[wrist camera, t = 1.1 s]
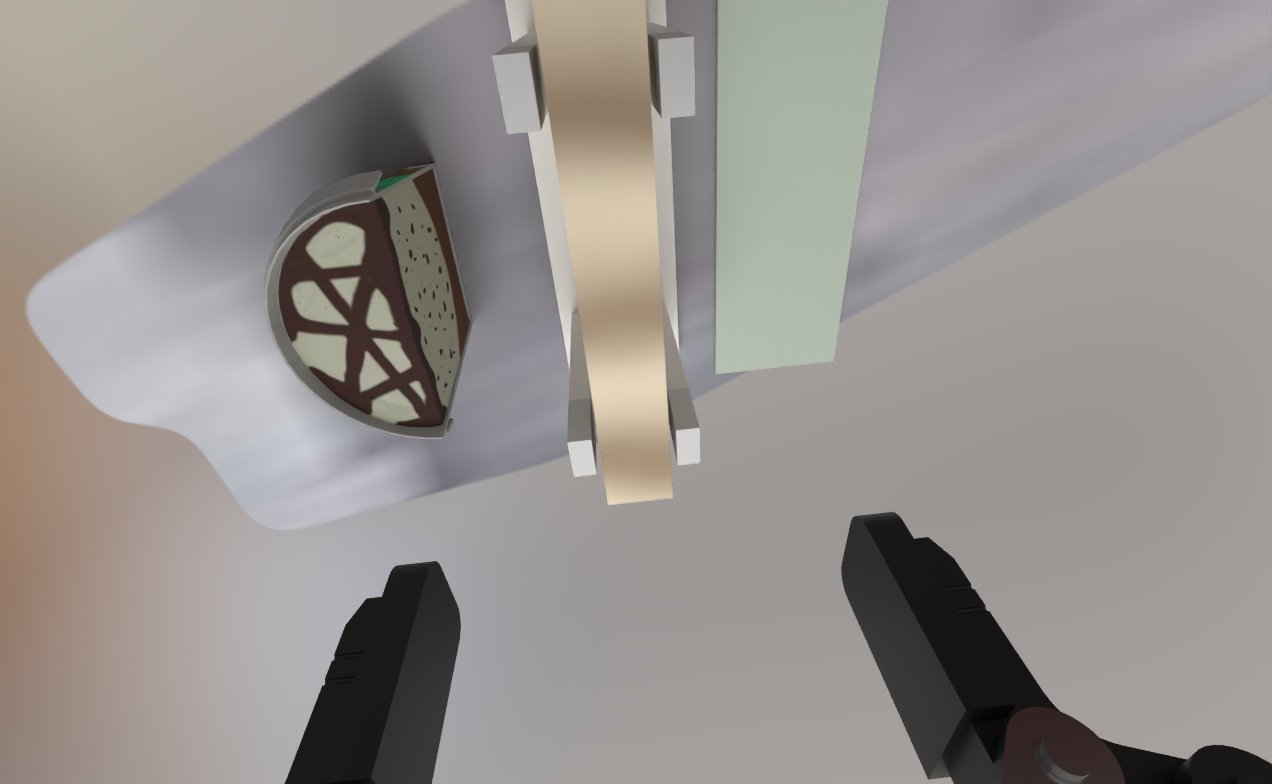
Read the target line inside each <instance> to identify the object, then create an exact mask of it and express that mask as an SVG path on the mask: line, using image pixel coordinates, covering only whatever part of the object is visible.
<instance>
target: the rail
mask: <svg viewBox="0 0 1272 784" xmlns="http://www.w3.org/2000/svg"><path fill="white" fill-rule="evenodd" d="M531 1H532V7H533V14H534V20H535V27H536V34H537V40H538V47H539V53H540V60H541V66H542V73H543V80H544V86H545V93H546V99H547V106H548V112H549V119H550V126H551V132H552V139H553V145H554V152H555V158H556V165H557V172H558V178H559V185H560V191H561V198H562V204H563V211H564V218H565V224H566V231H567V237H568V244H569V250H570V257H571V264H572V270H573V277H574V283H575V290H576V296H577V303H578V310H579V316H580V323H581V329H582V336H583V342H584V349H585V356H586V362H587V369H588V375H589V382H590V388H591V395H592V402H593V408H594V415H595V421H596V428H597V434H598V441H599V448H600V454H601V460H602V467H603V474H604V480H605V487H606V494H607V499H608V505H613V504H621V503H630V502H640V501H649V500H657V499H666V498H673V495H672V476H671V461H670V460H671V458H670V442H669V441H670V440H669V422H668V404H667V386H666V368H665V350H664V332H663V313H662V295H661V277H660V259H659V241H658V223H657V205H656V187H655V169H654V151H653V132H652V114H651V96H650V78H649V60H648V42H647V24H646V6H645V0H531Z"/></svg>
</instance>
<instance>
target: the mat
mask: <svg viewBox="0 0 1272 784" xmlns="http://www.w3.org/2000/svg"><path fill="white" fill-rule="evenodd" d="M887 6H888V0H716V173H715V357H714V371H715V374H721V373H730V372H739V371H748V370H758V369H766V368H776V367H785V366H794V365H803V364H813V363H822V362H831V361H833V360H834V355H835V354H834V353H835V347H836V341H837V335H838V328H839V322H840V315H841V308H842V302H843V295H844V289H845V282H846V276H847V269H848V262H849V256H850V249H851V243H852V236H853V229H854V223H855V216H856V210H857V203H858V197H859V190H860V183H861V177H862V170H863V164H864V157H865V150H866V144H867V137H868V131H869V124H870V118H871V111H872V104H873V98H874V91H875V85H876V78H877V71H878V65H879V58H880V52H881V45H882V38H883V32H884V25H885V19H886V12H887Z"/></svg>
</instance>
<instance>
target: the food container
mask: <svg viewBox="0 0 1272 784" xmlns="http://www.w3.org/2000/svg"><path fill="white" fill-rule="evenodd" d="M382 175H383V173H382V171H381V170H378V171H372V172H365V173H359V174H355V175H352V176H349V177H346V178H343V179H340V180H337V181H334V182H332V183H331V184H329V185H327V186H325V187H324V188H322V189H320V190H318V191H316V192H315V193H313V194H312V195H311V196H310V197H309V198H308V199H306V200H305V201H304V202H303V203H302V204H301V205H300V206H298V207H297V209H296V210H295V211H294V213H293V214H292V215H291V217H290V218H289V219H288V221H287V222H286V223H285V225H284V227H283V229H282V231H281V233H280V235H279V237H278V239H277V241H276V244H275V246H274V248H273V250H272V252H271V255H270V257H269V259H268V264H267V269H266V273H265V278H264V300H265V311H266V317H267V322H268V327H269V330H270V332H271V335H272V337H273V340H274V343H275V345H276V347H277V349H278V351H279V352H280V354H281V356H282V358H283V359H284V361H285V363H286V364H287V366H288V367H289V368H290V369H291V371H292V372H293V373H294V375H295V376H296V377H297V378H298V380H299V381H300V382H301V383H302V384H303V385H304V386H305V387H306V388H307V389H308V390H310V391H311V392H312V393H313V394H314V395H315V396H316V397H317V398H319V399H320V400H321V401H323V402H324V403H325V404H327V405H328V406H329V407H331V408H332V409H334V410H336V411H337V412H339V413H341V414H342V415H344V416H346V417H347V418H349V419H351V420H354V421H356V422H358V423H360V424H362V425H365V426H367V427H370V428H373V429H376V430H379V431H382V432H385V433H389V434H393V435H398V436H403V437H409V438H420V439H443V438H444V436H445V434H448V432H449V430H450V428H451V426H452V424H453V422H454V420H453V419H449V417H450V413H451V409H452V404H453V400H454V396H455V392H456V388H457V384H458V380H459V376H460V372H461V368H462V364H463V359H464V355H465V351H466V347H467V343H468V339H469V335H470V331H471V327H472V323H473V322H472V317H471V313H470V309H469V305H468V300H467V296H466V292H465V287H464V283H463V279H462V275H461V270H460V266H459V262H458V257H457V253H456V249H455V245H454V240H453V236H452V232H451V228H450V223H449V219H448V215H447V210H446V206H445V202H444V198H443V193H442V189H441V185H440V180H439V176H438V172H437V168H436V163H435V162H431V163H424V164H418V165H412V166H410V167H408V168H406V169H404V170H402V171H400V172H398V173H396V174H394V175H391V176H389V177H387V178H385V179H383V180H381V181H380V179H381V177H382Z"/></svg>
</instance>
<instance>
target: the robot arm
mask: <svg viewBox="0 0 1272 784" xmlns="http://www.w3.org/2000/svg"><path fill="white" fill-rule="evenodd" d="M841 568H842V569H841V571H842V580H843V585H844V589H845V593H846V595H847V598H848V600H849V602H850V605H851V607H852V609H853V612H854V613H855V616H856V618H857V621H858V623H859V625H860V627H861V630H862V632H863V634H864V636H865V638H866V640H867V643H868V645H869V647H870V650H871V652H872V654H873V656H874V659H875V661H876V663H877V666H878V668H879V670H880V672H881V674H882V677H883V679H884V681H885V683H886V686H887V688H888V690H889V692H890V695H891V697H892V699H893V701H894V704H895V706H896V708H897V710H898V713H899V715H900V717H901V719H902V722H903V724H904V726H905V728H906V731H907V733H908V735H909V737H910V740H911V742H912V744H913V746H914V749H915V751H916V753H917V755H918V757H919V759H920V762H921V764H922V766H923V769H924V771H925V773H926V775H927V777H928V779H936V778H944V777H951V778H952V781H953V783H954V784H1272V764H1271V763H1269V762H1267V761H1265V760H1263V759H1262V758H1260V757H1258V756H1256V755H1254V754H1251V753H1249V752H1247V751H1244V750H1240V749H1238V748H1234V747H1229V746H1224V745H1211V746H1205V747H1203V748H1201V749H1199V750H1198V751H1197V752H1195V753H1194V754H1193V755H1192V756H1191V757H1190V758H1189V759H1187V760H1186V759H1182V758H1177V757H1172V756H1168V755H1164V754H1159V753H1154V752H1150V751H1145V750H1141V749H1136V748H1131V747H1127V746H1123V745H1119V744H1115V743H1112V742H1109V741H1106V740H1104V739H1101V738H1099V737H1098V736H1097V735H1096V734H1095V733H1094V732H1093V731H1091V730H1090V729H1089V728H1088V727H1087V726H1085V725H1084V724H1082V723H1081V722H1079V721H1078V720H1076V719H1074V718H1073V717H1071V716H1069V715H1067V714H1065V713H1062V712H1060V711H1059V710H1058V709H1057V708H1056V707H1055V706H1054V705H1053V704H1052V702H1051V701H1050V700H1049V699H1048V697H1047V696H1046V695H1045V694H1044V692H1043V691H1042V690H1041V688H1040V686H1039V685H1038V683H1037V682H1036V680H1035V679H1034V677H1033V676H1032V674H1031V673H1030V672H1029V670H1028V668H1027V667H1026V666H1025V664H1024V663H1023V661H1022V660H1021V658H1020V657H1019V655H1018V653H1017V652H1016V651H1015V649H1014V647H1013V646H1012V644H1011V643H1010V641H1009V640H1008V638H1007V637H1006V636H1005V634H1004V633H1003V631H1002V629H1001V628H1000V627H999V625H998V624H997V622H996V621H995V619H994V618H993V616H992V615H991V613H990V612H989V611H987V610H986V608H985V604H984V603H983V601H982V600H981V598H980V597H979V595H978V594H977V592H976V591H975V589H972V588H971V583H970V582H969V580H968V579H967V577H966V576H965V574H964V573H963V571H962V570H961V568H960V567H959V565H958V564H957V562H956V561H955V559H954V558H953V557H951V556H950V555H949V554H948V553H947V552H945V551H944V550H943V549H942V548H941V547H939V546H938V545H937V544H936V543H935V542H933V541H932V540H931V539H930V538H928V537H926V538H917V539H914V538H913V536H912V535H911V533H910V532H909V530H908V528H907V527H906V525H905V524H904V522H903V520H902V519H901V518H900V516H898V515H897V514H896V513H894V512H889V513H879V514H870V515H861V516H855V517H853V518H852V520H851V524H850V528H849V534H848V538H847V543H846V547H845V552H844V556H843V561H842V567H841ZM460 630H461V623H460V613H459V608H458V606H457V603H456V601H455V599H454V596H453V594H452V591H451V589H450V587H449V584H448V582H447V580H446V578H445V575H444V573H443V571H442V568H441V566H440V564H439V563H438V562H436V561H433V562H425V563H416V564H407V565H398V566H395V567H394V568H393V569H392V571H391V573H390V575H389V578H388V581H387V584H386V587H385V589H384V592H383V595H382V597H377V598H368V599H366V600H365V601H364V602H363V604H362V605H361V606H360V608H359V609H358V610H357V611H356V613H355V614H354V615H353V616H352V618H351V619H350V620H349V622H348V623H347V624H346V626H345V628H344V631H343V633H342V636H341V638H340V641H339V644H338V646H337V649H336V651H335V654H334V655H335V659H334V661H332V662H331V665H330V667H329V670H328V673H327V675H326V678H325V685H324V686H322V688H321V691H320V693H319V696H318V699H317V701H316V704H315V706H314V709H313V712H312V714H311V717H310V719H309V722H308V725H307V727H306V730H305V732H304V735H303V738H302V740H301V743H300V745H299V748H298V751H297V753H296V756H295V759H294V761H293V764H292V767H291V769H290V772H289V774H288V777H287V779H286V782H285V784H432V778H433V774H434V769H435V764H436V759H437V753H438V748H439V743H440V737H441V733H442V727H443V722H444V717H445V712H446V707H447V702H448V697H449V692H450V687H451V681H452V676H453V671H454V666H455V660H456V656H457V650H458V645H459V640H460Z"/></svg>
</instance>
